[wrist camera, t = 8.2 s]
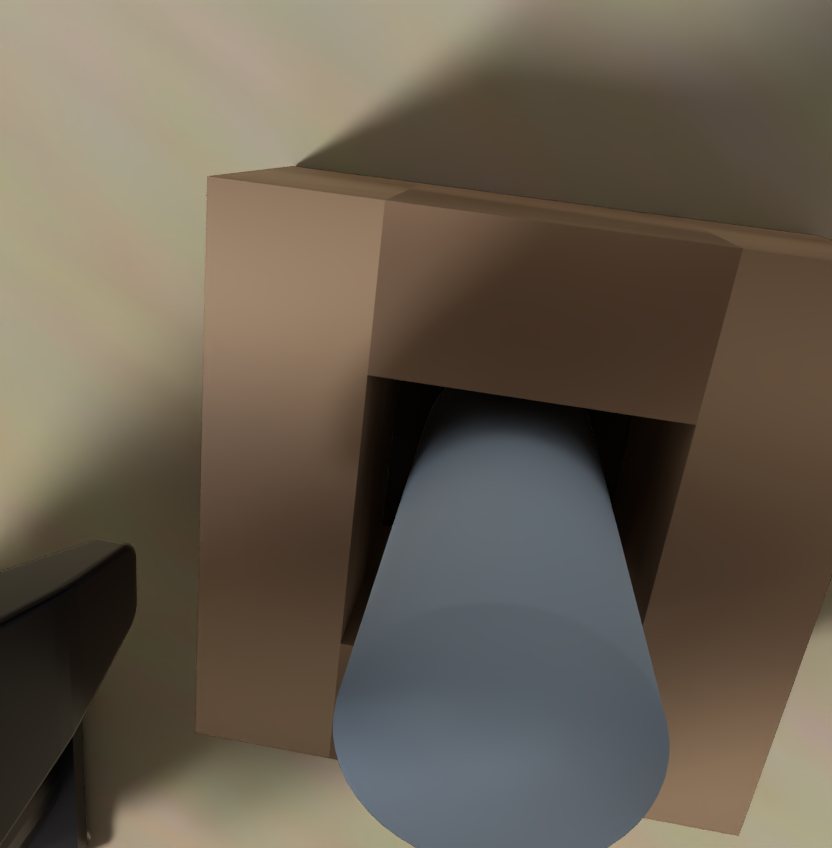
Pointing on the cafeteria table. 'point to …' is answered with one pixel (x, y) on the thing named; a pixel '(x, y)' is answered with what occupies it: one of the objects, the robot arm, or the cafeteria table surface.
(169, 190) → the cafeteria table surface
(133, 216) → the cafeteria table surface
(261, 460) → the socket block
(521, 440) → the peg
